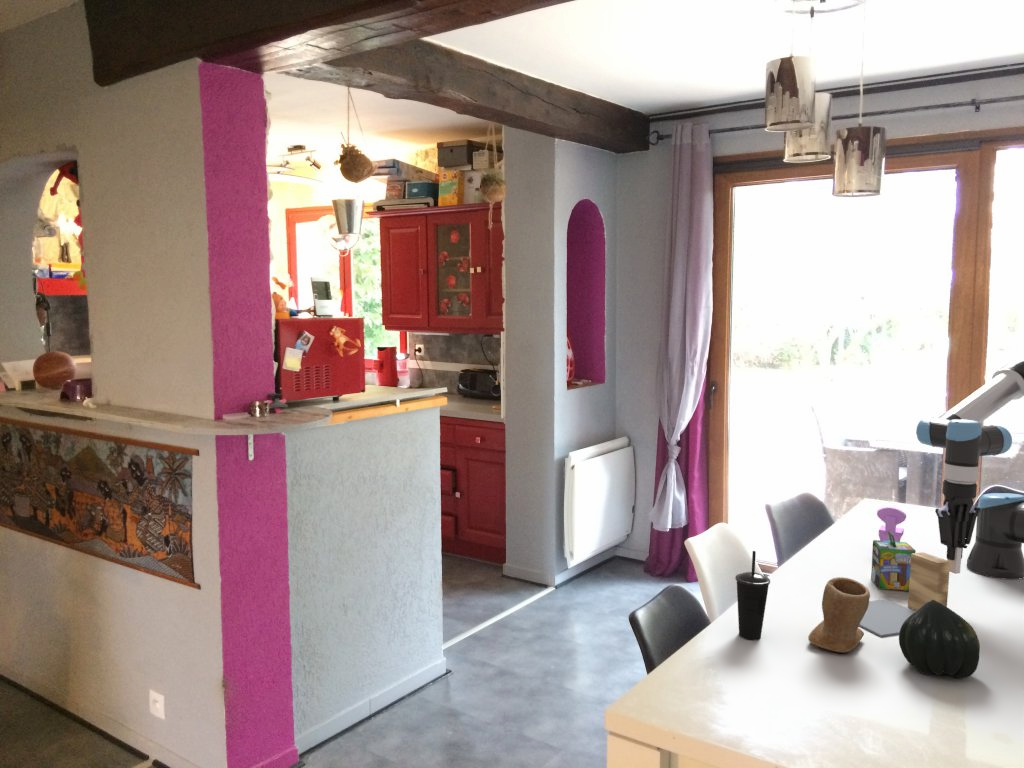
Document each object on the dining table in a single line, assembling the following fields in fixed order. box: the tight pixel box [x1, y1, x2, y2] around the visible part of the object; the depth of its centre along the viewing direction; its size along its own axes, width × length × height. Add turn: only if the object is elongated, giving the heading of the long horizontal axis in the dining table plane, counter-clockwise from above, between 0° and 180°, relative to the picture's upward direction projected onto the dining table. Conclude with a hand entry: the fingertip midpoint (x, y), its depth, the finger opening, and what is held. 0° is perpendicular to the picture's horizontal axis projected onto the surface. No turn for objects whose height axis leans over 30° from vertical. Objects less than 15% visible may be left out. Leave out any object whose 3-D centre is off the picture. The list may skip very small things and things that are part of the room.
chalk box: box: [870, 531, 917, 592], centre depth 219 cm, size 9×9×15 cm
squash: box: [898, 600, 981, 679], centre depth 167 cm, size 14×15×15 cm
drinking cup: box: [734, 550, 771, 641], centre depth 182 cm, size 8×8×20 cm
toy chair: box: [876, 506, 907, 542], centre depth 250 cm, size 8×9×15 cm
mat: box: [858, 598, 916, 638], centre depth 196 cm, size 20×18×1 cm
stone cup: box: [808, 576, 871, 653], centre depth 179 cm, size 15×12×15 cm
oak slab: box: [907, 551, 950, 612], centre depth 200 cm, size 4×8×14 cm, turn 20°
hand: (953, 571), depth 203 cm, fingers closed
